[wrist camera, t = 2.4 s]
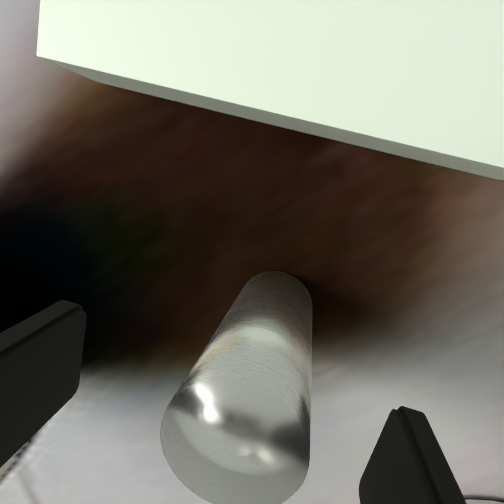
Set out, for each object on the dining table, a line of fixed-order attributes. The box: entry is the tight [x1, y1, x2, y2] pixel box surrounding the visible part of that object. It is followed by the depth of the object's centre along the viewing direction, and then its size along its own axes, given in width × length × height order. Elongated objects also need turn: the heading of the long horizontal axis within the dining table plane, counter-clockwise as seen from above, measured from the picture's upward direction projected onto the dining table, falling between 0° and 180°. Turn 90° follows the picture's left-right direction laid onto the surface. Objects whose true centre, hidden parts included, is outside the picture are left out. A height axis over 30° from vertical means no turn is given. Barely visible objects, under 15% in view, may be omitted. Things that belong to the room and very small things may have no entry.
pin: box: [160, 271, 312, 504], centre depth 14 cm, size 4×4×10 cm
